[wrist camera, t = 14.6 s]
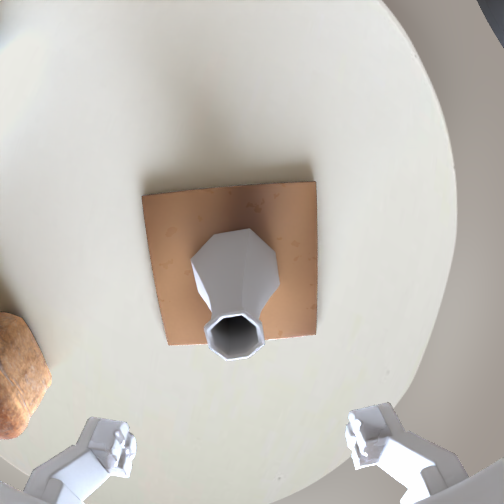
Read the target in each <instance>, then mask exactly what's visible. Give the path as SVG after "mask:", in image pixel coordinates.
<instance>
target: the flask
mask: <svg viewBox="0 0 504 504" xmlns="http://www.w3.org/2000/svg"><path fill="white" fill-rule="evenodd" d="M191 264H192V268H193V272H194V277H195V281H196V285H197V289H198V292H199V294H200V295H201V297H202V298H203V299H204V301H205V302H206V304H207V305H208V307H209V309H210V310H211V312H212V316H211V320H210V321H209V322H208V323H207V324H206V325H205V326H204V332H205V335H206V339H207V343H208V346H209V349H211V350H212V351H213V352H215V353H216V354H218V355H219V356H220V357H222V358H223V359H225V360H226V361H230V360H237V359H245V358H249V357H251V356H252V355H253V354H254V353H255V352H257V351H258V350H259V349H260V348H261V347H263V346H264V345H265V338H264V333H263V327H262V322H261V321H260V320H259V317H260V313H261V311H262V309H263V308H264V306H265V305H266V303H267V301H268V300H269V298H270V297H271V296H272V295H273V293H274V292H275V291H276V289H277V288H278V287H279V285H280V281H279V274H278V267H277V260H276V253H275V251H274V250H273V249H271V248H270V247H269V246H268V245H267V244H266V243H265V242H264V241H263V240H262V239H261V238H260V237H259V236H258V235H257V234H255V233H254V232H253V231H252V230H251V229H250V228H248V229H242V230H236V231H230V232H225V233H219V234H214V235H213V236H212V237H211V238H210V239H209V240H208V241H207V242H206V243H205V244H204V245H203V246H202V248H201V249H200V250H199V251H198V252H197V253H196V254H195V255H194V256H193V257H192V258H191Z"/></svg>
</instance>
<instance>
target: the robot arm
mask: <svg viewBox="0 0 504 504" xmlns="http://www.w3.org/2000/svg"><path fill="white" fill-rule="evenodd" d="M348 419H349V421H350V422H349V423H348V424H347V425H346V430H345V435H346V441H347V445H348V447H349V448H351V449H352V450H353V451H352V455H351V457H352V459H353V462H354V465H355V468H356V469H358V468H362V467H366V466H371V465H375V464H377V465H378V466H379V467H380V468H382V469H383V470H384V471H386V472H387V473H388V474H390V475H391V476H392V477H394V478H395V479H396V480H398V481H399V482H400V483H402V484H403V485H404V486H406V487H407V488H408V490H407V492H406V493H405V495H404V496H403V497H402V499H401V500H400V503H401V504H504V457H503V458H501V459H499V460H498V461H496V462H495V463H493V464H492V465H490V466H488V467H486V468H485V469H483V470H481V471H480V472H478V473H476V474H474V475H473V476H471V477H469V476H468V474H467V473H466V471H465V469H464V467H463V466H462V464H461V462H460V461H459V459H458V457H457V456H456V454H455V453H453V452H450V451H448V450H446V449H444V448H442V447H440V446H438V445H436V444H434V443H432V442H430V441H428V440H426V439H424V438H422V437H420V436H419V435H417V434H415V433H413V432H411V431H405V429H404V427H403V425H402V424H401V422H400V420H399V418H398V416H397V415H396V413H395V411H394V409H393V407H392V405H391V404H390V403H389V402H387V403H383V404H378V405H373V406H369V407H365V408H361V409H356V410H351V411H350V412H349V415H348ZM129 428H130V427H129V426H128V424H127V422H123V421H116V420H109V419H103V418H97V417H90V418H89V419H88V420H87V422H86V424H85V426H84V428H83V430H82V433H81V435H80V437H79V439H78V441H77V443H76V445H71V446H70V447H68V448H67V449H65V450H64V451H62V452H61V453H59V454H58V455H56V456H54V457H53V458H51V459H50V460H48V461H46V462H45V463H43V464H42V465H40V466H38V467H37V468H35V469H33V471H32V473H31V475H30V478H29V480H28V482H27V484H26V486H25V488H24V490H23V492H22V491H20V490H18V489H16V488H14V487H12V486H10V485H8V484H6V483H4V482H2V481H0V504H84V503H83V502H82V501H83V500H84V499H85V498H87V497H88V496H89V495H90V494H91V493H92V492H93V491H94V490H95V489H96V488H97V487H98V486H99V485H101V484H102V483H103V482H104V481H105V480H106V479H107V478H108V477H109V476H110V475H114V476H121V477H128V478H129V476H130V472H131V469H132V463H131V461H130V460H131V459H132V458H133V457H135V454H136V450H137V443H136V439H135V437H134V435H133V434H132V433H130V432H129Z"/></svg>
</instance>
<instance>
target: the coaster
mask: <svg viewBox="0 0 504 504" xmlns="http://www.w3.org/2000/svg"><path fill="white" fill-rule="evenodd" d="M142 204H143V212H144V220H145V227H146V234H147V240H148V247H149V253H150V259H151V265H152V270H153V276H154V281H155V287H156V292H157V297H158V302H159V307H160V311H161V316H162V320H163V325H164V329H165V334H166V338H167V342H168V345H199V344H208V343H207V339H206V335H205V332H204V326H205V325H206V324H207V323H208V322H209V321H210V320H211V316H212V312H211V310H210V309H209V307H208V305H207V304H206V302H205V301H204V299H203V298H202V297H201V295H200V294H199V292H198V289H197V285H196V281H195V277H194V272H193V268H192V264H191V258H192V257H193V256H194V255H195V254H196V253H197V252H198V251H199V250H200V249H201V248H202V246H203V245H204V244H205V243H206V242H207V241H208V240H209V239H210V238H211V237H212V236H213V235H214V234H219V233H225V232H230V231H236V230H242V229H248V228H250V229H251V230H252V231H253V232H254V233H255V234H257V235H258V236H259V237H260V238H261V239H262V240H263V241H264V242H265V243H266V244H267V245H268V246H269V247H270V248H271V249H273V250H274V251H275V253H276V260H277V267H278V274H279V281H280V285H279V287H278V288H277V289H276V291H275V292H274V293H273V295H272V296H271V297H270V298H269V300H268V301H267V303H266V305H265V306H264V308H263V309H262V311H261V313H260V317H259V320H260V321H261V322H262V327H263V333H264V338H265V340H273V339H283V338H293V337H301V336H310V335H316V322H317V273H318V243H317V194H316V182H315V181H306V182H284V183H267V184H251V185H238V186H225V187H214V188H203V189H193V190H184V191H174V192H166V193H157V194H149V195H143V196H142Z"/></svg>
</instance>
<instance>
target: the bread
mask: <svg viewBox="0 0 504 504" xmlns="http://www.w3.org/2000/svg"><path fill="white" fill-rule="evenodd" d="M51 378H52V376H51V373H50V371H49V369H48V367H47V364H46V362H45V359H44V357H43V355H42V353H41V350H40V348H39V346H38V344H37V342H36V340H35V338H34V336H33V334H32V333H31V331H30V329H29V328H28V326H27V324H26V323H25V321H24V320H23V318H21V317H18V316H16V315H13V314H10V313H6V312H0V440H1V439H12V438H16V437H18V436H19V435H20V434H22V432H23V431H24V430H25V429H26V427H27V425H28V422H29V419H30V417H31V416H32V414H33V413H34V412H35V410H36V409H37V407H38V405H39V404H40V402H41V400H42V398H43V396H44V394H45V392H46V390H47V388H48V387H49V386H50V385H51Z"/></svg>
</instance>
